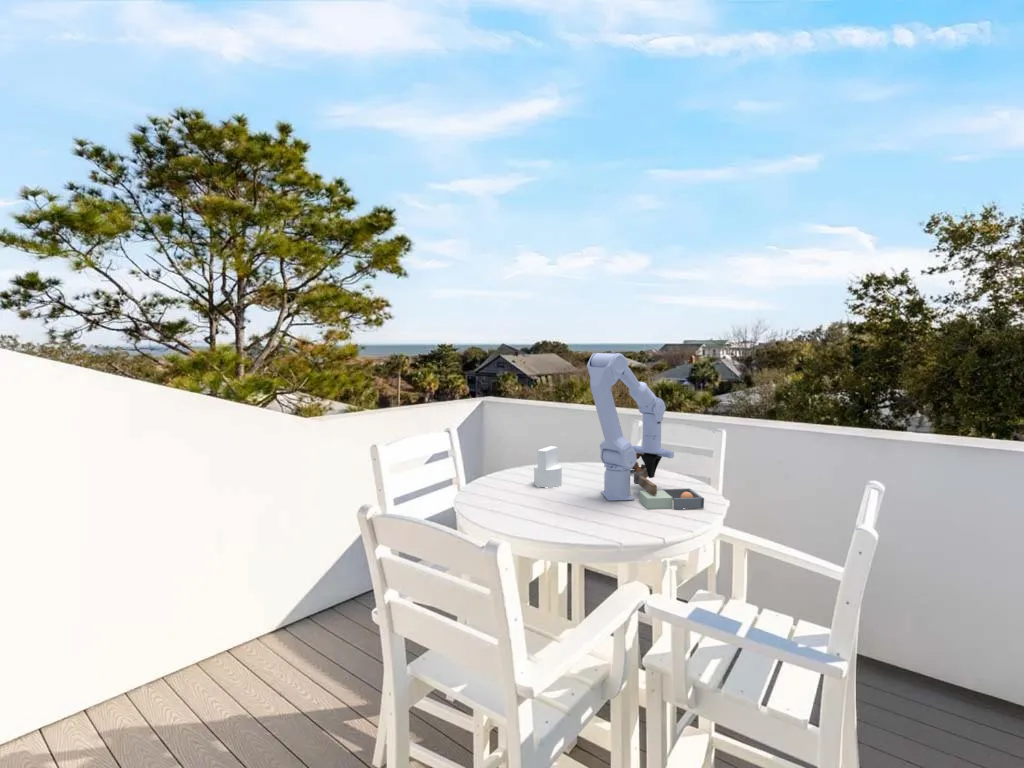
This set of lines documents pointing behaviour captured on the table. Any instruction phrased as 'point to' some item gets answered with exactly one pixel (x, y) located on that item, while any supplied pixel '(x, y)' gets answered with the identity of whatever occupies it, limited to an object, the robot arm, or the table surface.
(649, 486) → the flipper lever
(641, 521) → the table surface
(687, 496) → the ball
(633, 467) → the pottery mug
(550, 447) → the base with upright slab
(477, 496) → the table surface
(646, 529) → the table surface
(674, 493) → the tray
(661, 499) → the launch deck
